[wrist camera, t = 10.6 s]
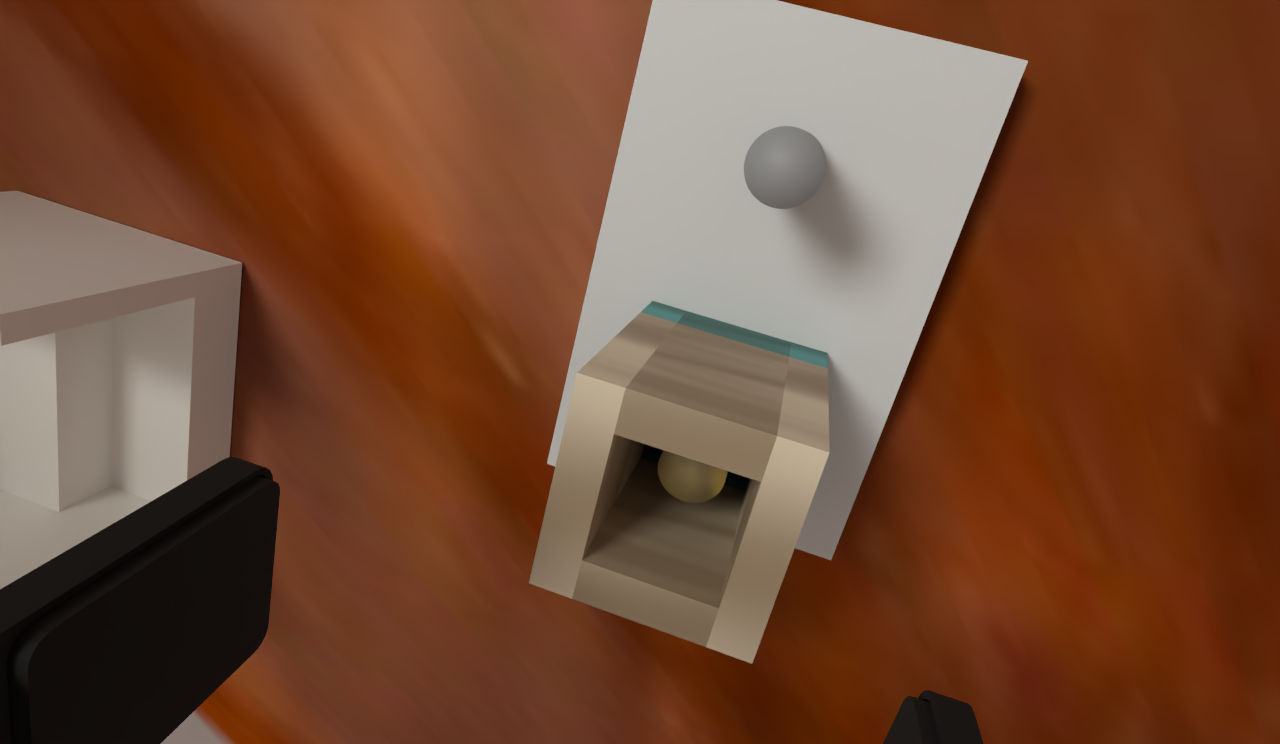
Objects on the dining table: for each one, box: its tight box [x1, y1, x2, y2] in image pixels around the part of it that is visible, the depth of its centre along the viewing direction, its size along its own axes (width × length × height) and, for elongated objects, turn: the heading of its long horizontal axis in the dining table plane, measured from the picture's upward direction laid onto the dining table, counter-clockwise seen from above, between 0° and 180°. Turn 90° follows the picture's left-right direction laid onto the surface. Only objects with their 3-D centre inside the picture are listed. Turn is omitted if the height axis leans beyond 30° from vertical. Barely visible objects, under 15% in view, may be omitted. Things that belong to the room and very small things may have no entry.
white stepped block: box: [0, 191, 242, 589], centre depth 24 cm, size 9×10×8 cm
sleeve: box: [529, 301, 830, 664], centre depth 18 cm, size 5×5×7 cm
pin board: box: [547, 0, 1028, 560], centre depth 19 cm, size 9×14×6 cm, turn 166°
